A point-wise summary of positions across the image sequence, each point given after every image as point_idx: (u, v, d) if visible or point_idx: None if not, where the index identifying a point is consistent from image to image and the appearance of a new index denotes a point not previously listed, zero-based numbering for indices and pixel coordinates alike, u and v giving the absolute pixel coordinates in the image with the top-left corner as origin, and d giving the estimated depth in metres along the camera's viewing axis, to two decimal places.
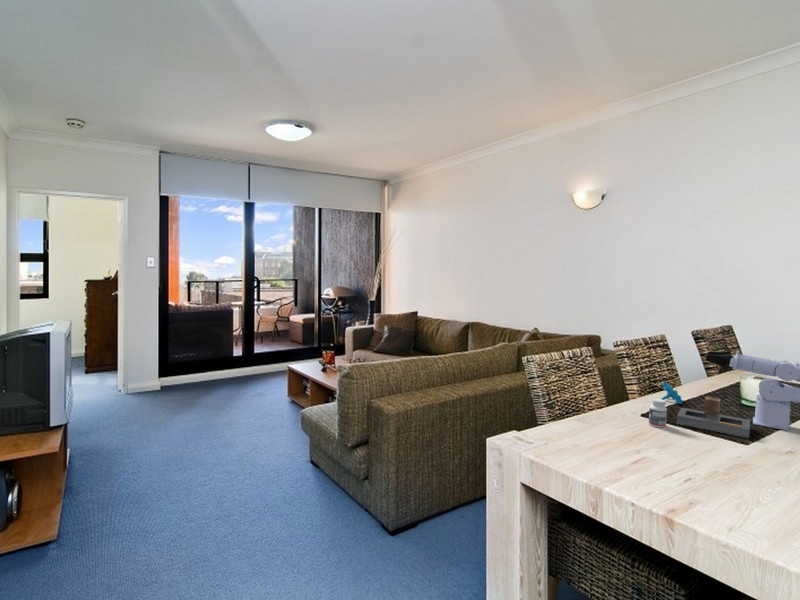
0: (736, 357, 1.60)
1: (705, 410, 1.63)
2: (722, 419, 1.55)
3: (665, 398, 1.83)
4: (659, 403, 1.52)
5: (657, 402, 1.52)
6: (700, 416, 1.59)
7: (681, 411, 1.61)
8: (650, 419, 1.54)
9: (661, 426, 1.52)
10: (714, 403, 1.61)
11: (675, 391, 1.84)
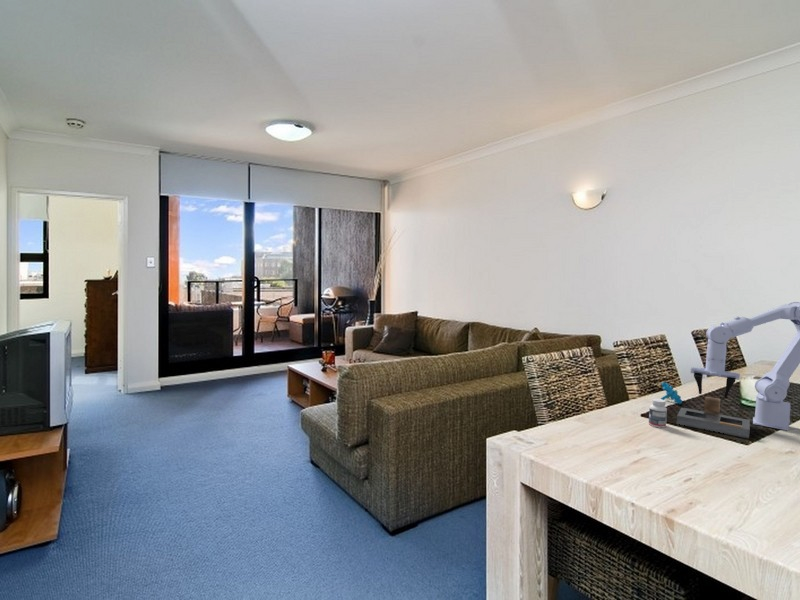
0: (726, 374, 1.59)
1: (705, 410, 1.63)
2: (722, 419, 1.55)
3: (664, 398, 1.84)
4: (659, 403, 1.52)
5: (657, 402, 1.52)
6: (700, 416, 1.59)
7: (681, 411, 1.61)
8: (650, 419, 1.54)
9: (661, 426, 1.52)
10: (714, 403, 1.61)
11: (675, 391, 1.84)
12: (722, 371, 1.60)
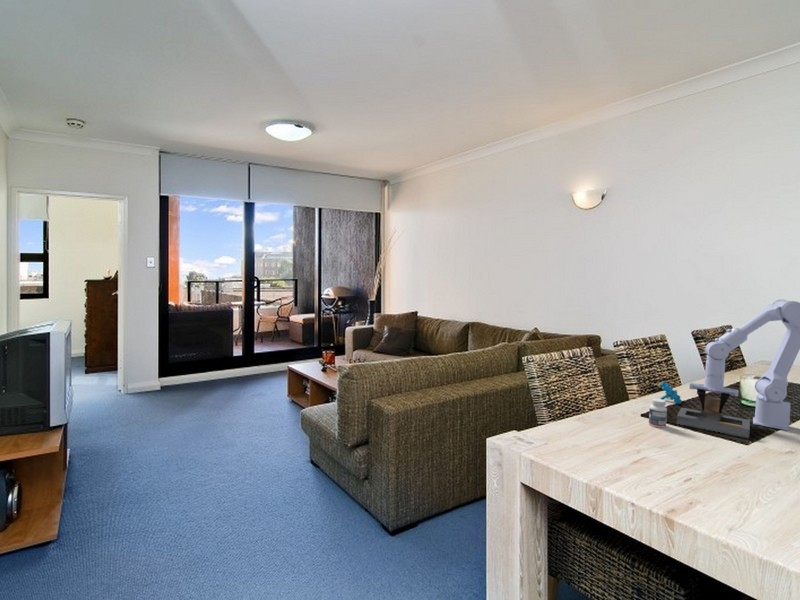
0: (724, 390, 1.59)
1: (705, 410, 1.63)
2: (722, 419, 1.55)
3: (664, 398, 1.84)
4: (659, 403, 1.52)
5: (657, 402, 1.52)
6: (700, 416, 1.59)
7: (681, 411, 1.61)
8: (650, 419, 1.54)
9: (661, 426, 1.52)
10: (714, 403, 1.61)
11: (674, 391, 1.85)
12: (721, 387, 1.60)
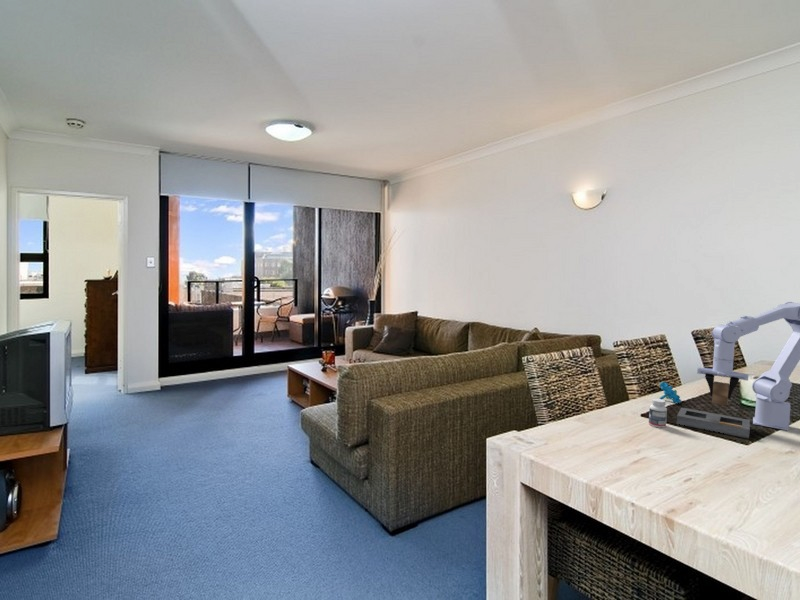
0: (734, 374, 1.54)
1: (713, 395, 1.58)
2: (722, 419, 1.55)
3: (663, 397, 1.84)
4: (659, 403, 1.52)
5: (657, 402, 1.52)
6: (700, 416, 1.59)
7: (681, 411, 1.61)
8: (650, 419, 1.54)
9: (661, 426, 1.52)
10: (723, 387, 1.56)
11: (674, 391, 1.85)
12: (730, 371, 1.55)
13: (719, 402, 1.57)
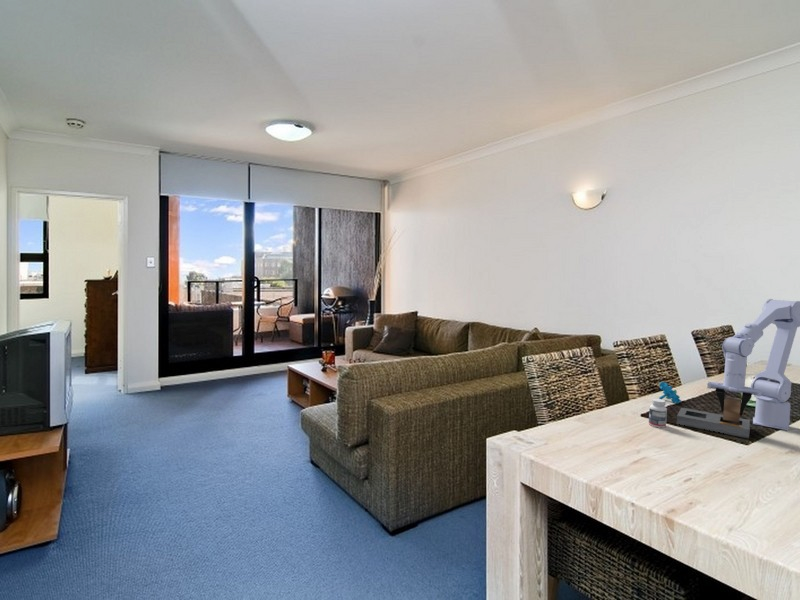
0: (746, 390, 1.47)
1: (724, 411, 1.50)
2: (722, 419, 1.55)
3: (663, 397, 1.84)
4: (659, 403, 1.52)
5: (657, 402, 1.52)
6: (700, 416, 1.59)
7: (681, 411, 1.61)
8: (650, 419, 1.54)
9: (661, 426, 1.52)
10: (734, 403, 1.49)
11: (674, 391, 1.85)
12: (742, 387, 1.48)
13: (730, 418, 1.50)
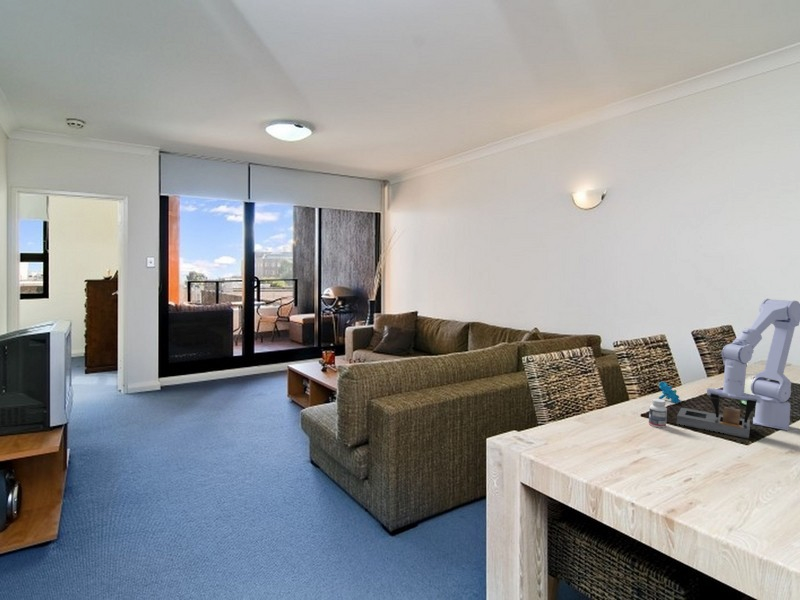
0: (746, 397, 1.47)
1: None
2: (722, 419, 1.55)
3: (662, 397, 1.85)
4: (659, 403, 1.52)
5: (657, 402, 1.52)
6: (700, 416, 1.59)
7: (681, 411, 1.61)
8: (650, 419, 1.54)
9: (661, 426, 1.52)
10: (733, 414, 1.49)
11: (673, 391, 1.85)
12: (741, 393, 1.48)
13: None
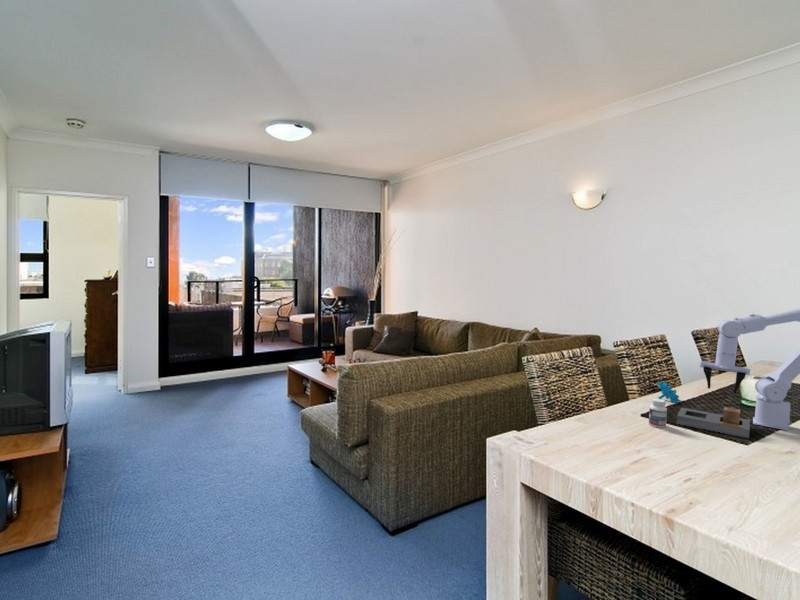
0: (736, 369, 1.58)
1: None
2: (722, 419, 1.55)
3: (661, 397, 1.85)
4: (659, 403, 1.52)
5: (657, 402, 1.52)
6: (700, 416, 1.59)
7: (681, 411, 1.61)
8: (650, 419, 1.54)
9: (661, 426, 1.52)
10: (733, 414, 1.49)
11: (673, 390, 1.85)
12: (732, 366, 1.59)
13: None
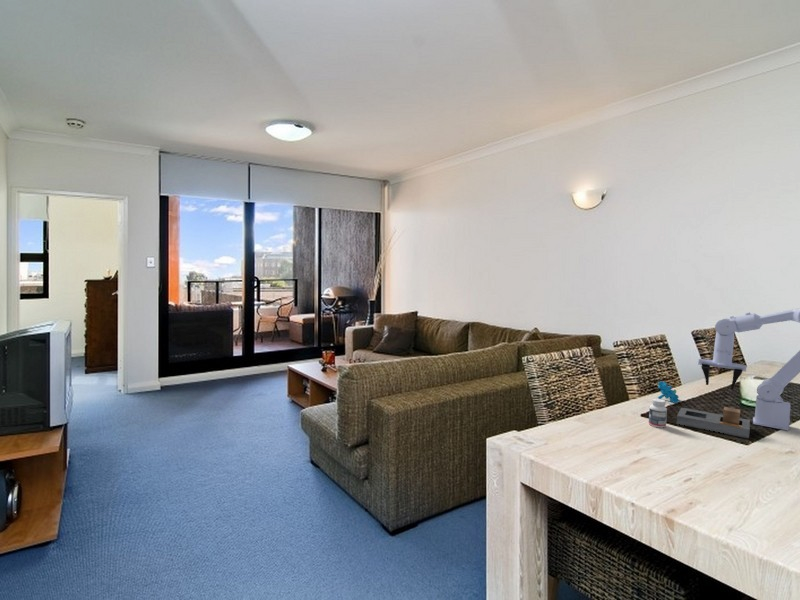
0: (733, 366, 1.63)
1: None
2: (722, 419, 1.55)
3: (661, 397, 1.85)
4: (659, 403, 1.52)
5: (657, 402, 1.52)
6: (700, 416, 1.59)
7: (681, 411, 1.61)
8: (650, 419, 1.54)
9: (661, 426, 1.52)
10: (733, 414, 1.49)
11: (673, 390, 1.85)
12: (729, 363, 1.64)
13: None
